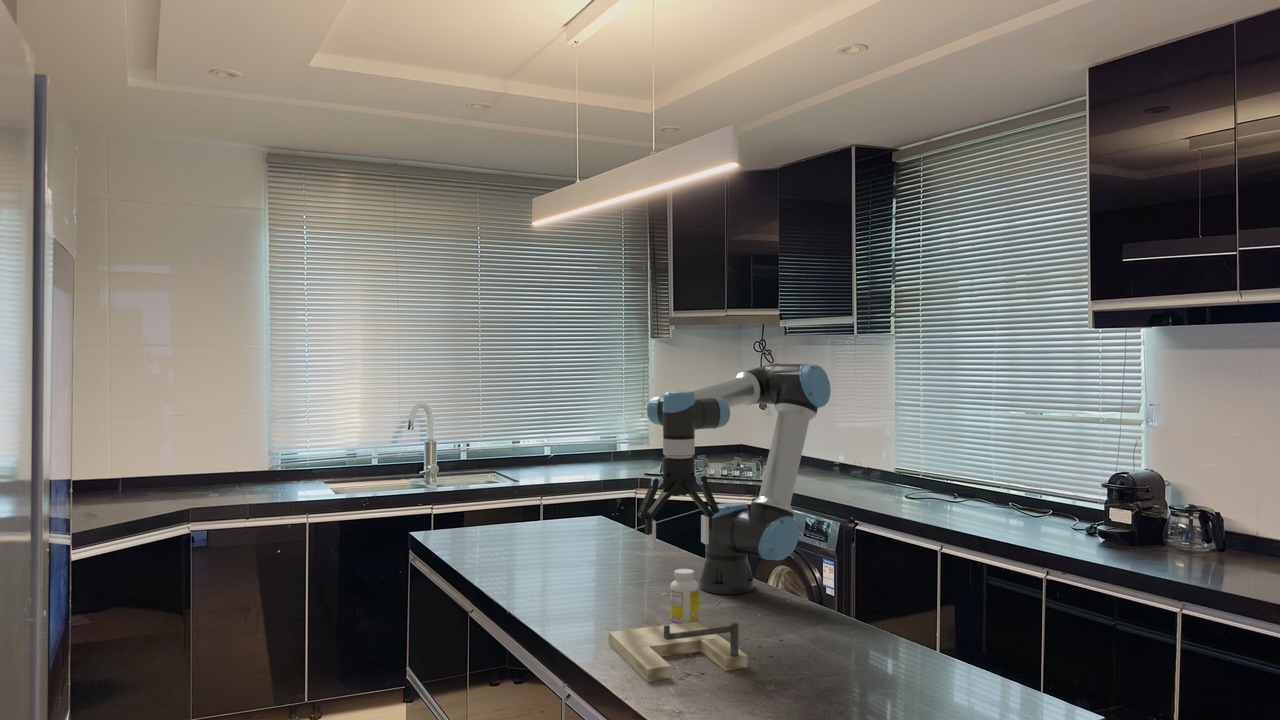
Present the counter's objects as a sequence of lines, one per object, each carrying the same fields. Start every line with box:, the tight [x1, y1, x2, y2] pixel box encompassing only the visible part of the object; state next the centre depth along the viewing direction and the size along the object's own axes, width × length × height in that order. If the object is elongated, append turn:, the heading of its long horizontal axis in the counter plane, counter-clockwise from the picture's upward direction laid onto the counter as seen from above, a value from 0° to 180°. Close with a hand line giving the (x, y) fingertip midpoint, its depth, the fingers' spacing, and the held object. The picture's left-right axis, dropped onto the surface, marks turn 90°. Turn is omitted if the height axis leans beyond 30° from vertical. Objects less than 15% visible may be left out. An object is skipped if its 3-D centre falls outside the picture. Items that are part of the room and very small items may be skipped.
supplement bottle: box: [670, 568, 700, 625], centre depth 202 cm, size 7×7×13 cm
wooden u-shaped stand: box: [608, 621, 749, 683], centre depth 182 cm, size 22×24×10 cm
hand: (678, 545), depth 202 cm, fingers open, 13 cm apart
